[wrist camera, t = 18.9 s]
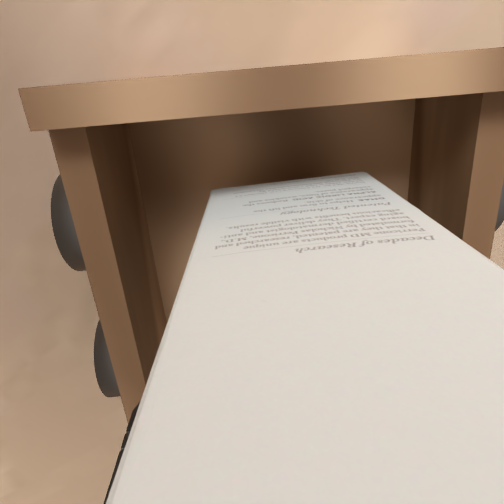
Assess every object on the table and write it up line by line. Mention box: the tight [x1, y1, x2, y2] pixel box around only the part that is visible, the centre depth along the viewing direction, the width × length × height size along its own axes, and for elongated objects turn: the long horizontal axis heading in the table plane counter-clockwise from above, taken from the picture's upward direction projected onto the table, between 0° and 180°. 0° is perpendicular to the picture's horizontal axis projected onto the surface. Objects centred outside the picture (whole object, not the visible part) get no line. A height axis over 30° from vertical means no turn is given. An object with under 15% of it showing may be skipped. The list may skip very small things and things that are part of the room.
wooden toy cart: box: [18, 47, 504, 424], centre depth 16 cm, size 16×14×7 cm
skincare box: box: [106, 171, 504, 504], centre depth 9 cm, size 8×6×15 cm
